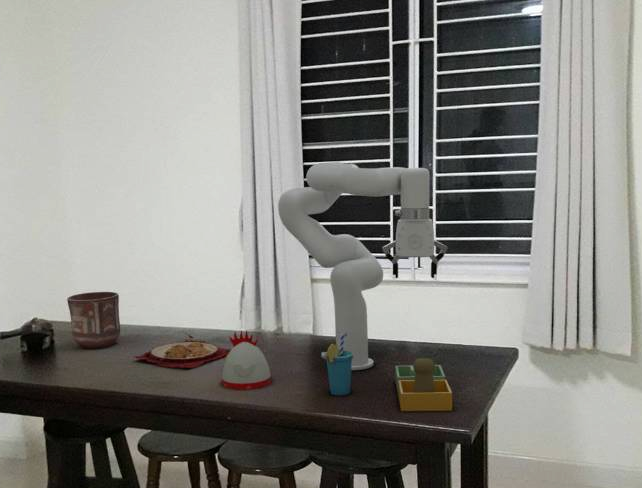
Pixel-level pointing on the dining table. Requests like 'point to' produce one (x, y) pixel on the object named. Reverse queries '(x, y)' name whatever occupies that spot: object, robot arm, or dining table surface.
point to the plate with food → (184, 354)
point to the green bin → (404, 374)
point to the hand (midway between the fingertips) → (414, 277)
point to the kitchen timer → (245, 365)
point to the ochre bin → (425, 397)
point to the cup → (339, 368)
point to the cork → (423, 376)
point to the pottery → (95, 319)
